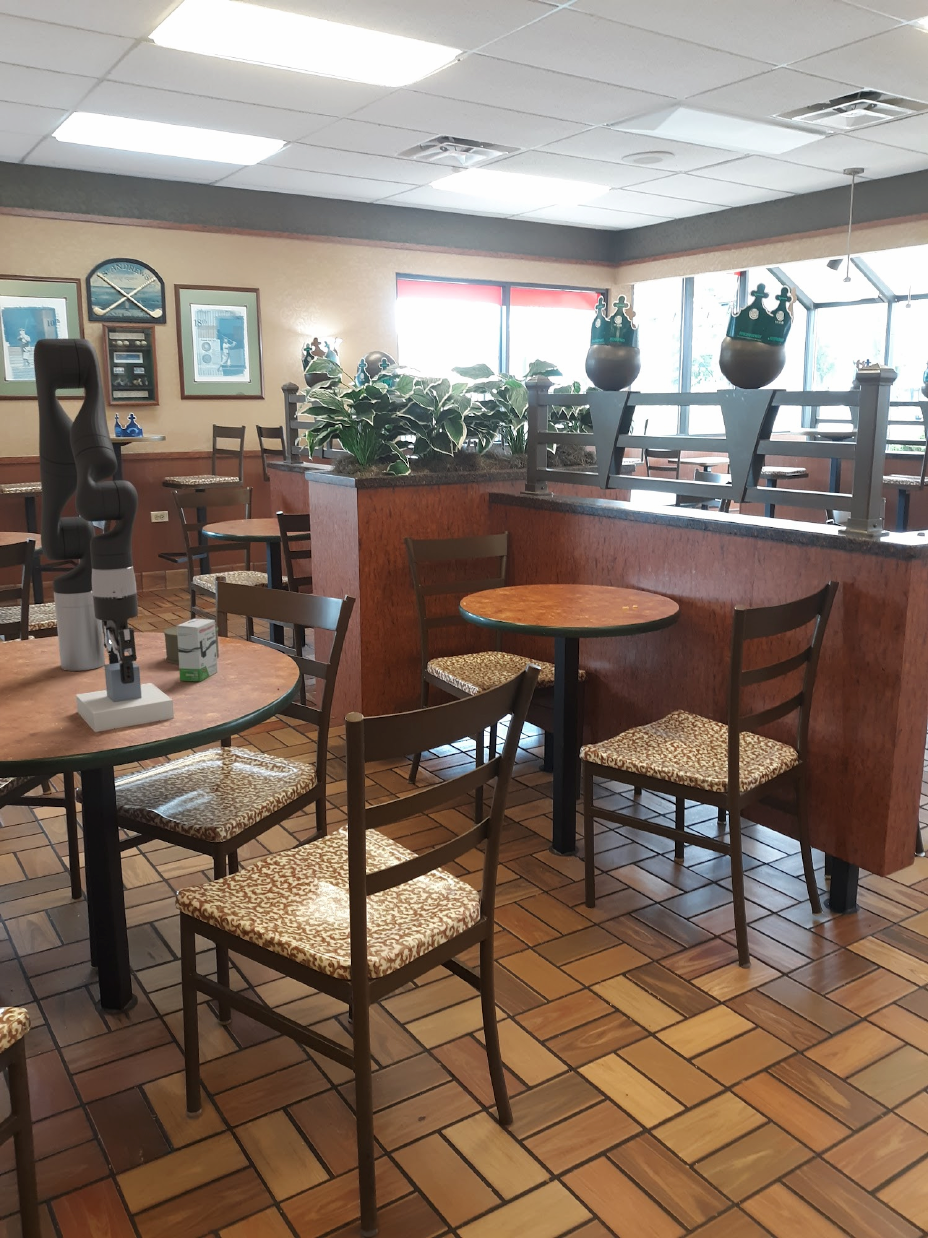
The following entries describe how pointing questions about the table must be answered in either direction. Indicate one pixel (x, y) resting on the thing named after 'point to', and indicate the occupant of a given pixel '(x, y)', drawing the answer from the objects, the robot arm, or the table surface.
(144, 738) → the table surface
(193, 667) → the ink box
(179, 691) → the table surface
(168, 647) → the can
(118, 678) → the slate block
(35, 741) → the table surface
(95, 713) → the white square slab
